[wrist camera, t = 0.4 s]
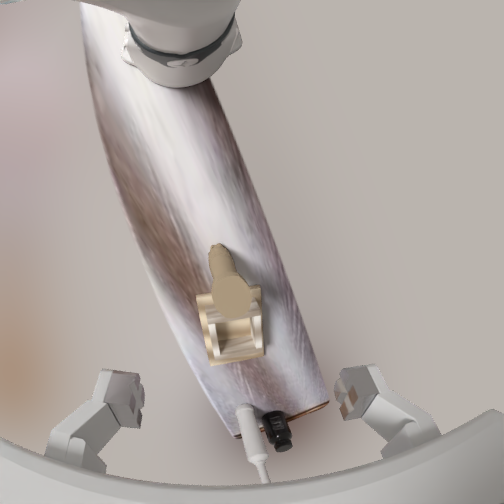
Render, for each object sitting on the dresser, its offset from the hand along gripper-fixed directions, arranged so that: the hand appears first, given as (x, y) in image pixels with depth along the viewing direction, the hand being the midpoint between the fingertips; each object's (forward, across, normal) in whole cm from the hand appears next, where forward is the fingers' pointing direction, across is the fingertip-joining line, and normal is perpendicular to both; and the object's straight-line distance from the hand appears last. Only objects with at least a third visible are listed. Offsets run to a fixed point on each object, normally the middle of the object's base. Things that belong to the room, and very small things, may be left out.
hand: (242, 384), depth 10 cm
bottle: (+36, -6, +60) cm, 70 cm away
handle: (+38, +1, +13) cm, 40 cm away
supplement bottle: (+36, -15, +67) cm, 77 cm away
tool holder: (+37, -2, +30) cm, 47 cm away
